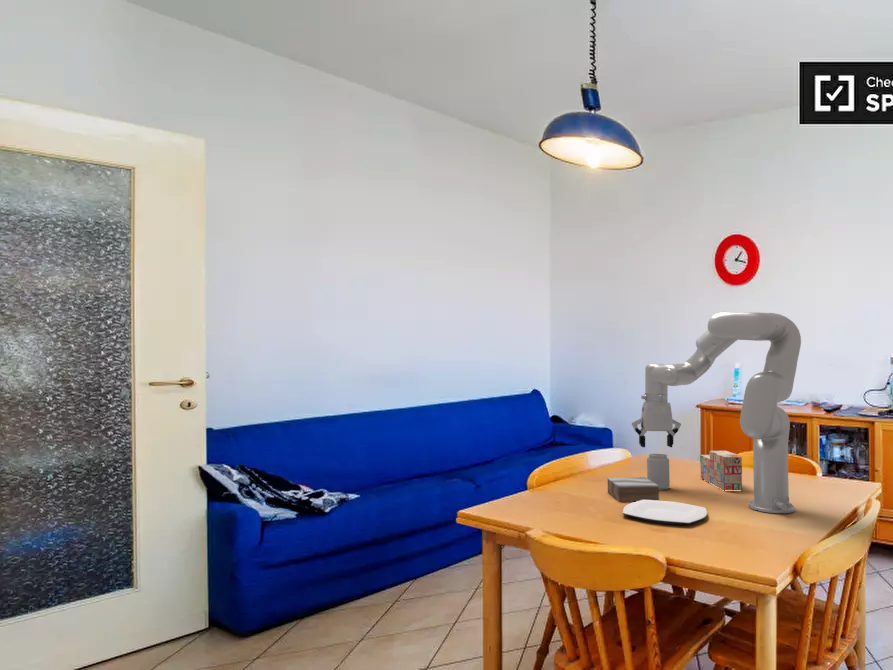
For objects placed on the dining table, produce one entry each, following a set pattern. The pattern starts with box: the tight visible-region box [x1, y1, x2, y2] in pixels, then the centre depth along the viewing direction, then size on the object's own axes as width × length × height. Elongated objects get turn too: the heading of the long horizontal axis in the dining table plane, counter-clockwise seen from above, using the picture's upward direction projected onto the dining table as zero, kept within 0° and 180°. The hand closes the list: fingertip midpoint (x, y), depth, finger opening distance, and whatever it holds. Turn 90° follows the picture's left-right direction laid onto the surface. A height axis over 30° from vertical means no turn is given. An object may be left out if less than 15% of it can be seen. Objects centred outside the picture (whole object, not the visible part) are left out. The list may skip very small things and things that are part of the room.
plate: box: [622, 500, 708, 526], centre depth 186 cm, size 23×23×2 cm
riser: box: [607, 477, 660, 503], centre depth 210 cm, size 13×13×5 cm
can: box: [646, 453, 671, 491], centre depth 222 cm, size 8×8×12 cm
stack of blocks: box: [699, 450, 743, 492], centre depth 226 cm, size 21×6×12 cm, turn 179°
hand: (656, 446), depth 222 cm, fingers open, 9 cm apart
